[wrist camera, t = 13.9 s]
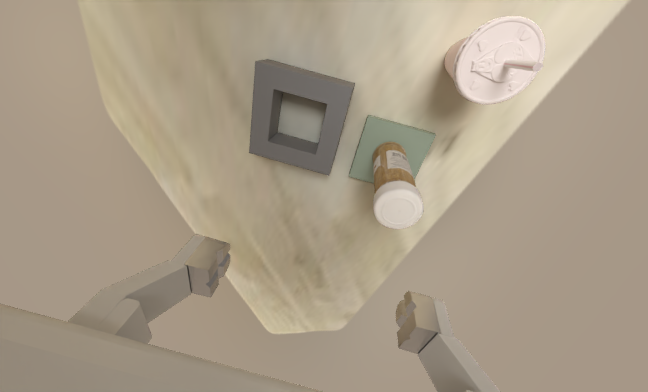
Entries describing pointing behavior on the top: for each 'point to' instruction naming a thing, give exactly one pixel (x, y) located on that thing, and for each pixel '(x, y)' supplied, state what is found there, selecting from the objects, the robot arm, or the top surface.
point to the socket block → (266, 114)
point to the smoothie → (496, 59)
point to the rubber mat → (389, 131)
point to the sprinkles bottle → (395, 188)
